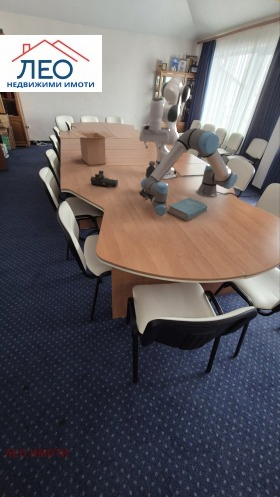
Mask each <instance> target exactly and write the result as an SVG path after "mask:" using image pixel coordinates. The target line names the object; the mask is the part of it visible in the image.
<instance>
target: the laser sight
mask: <svg viewBox="0 0 280 497" xmlns="http://www.w3.org/2000/svg"><path fill="white" fill-rule="evenodd" d="M89 181H90V184H91V185H94V186H101V187H112V188H113V187H114V188H117V187H118V186H119V179H114V178H109V177H105V175H104V170H98V174H97V173H95V174H94V176H90V180H89Z"/></svg>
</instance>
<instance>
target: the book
mask: <svg viewBox="0 0 280 497" xmlns="http://www.w3.org/2000/svg"><path fill="white" fill-rule="evenodd" d="M207 210H208V205H207V203H204V202H202V201H199V200H196V199H194V198H191V197H189V196H188V197H186V198H183V199H180V200H179V201H176V202H174V203H171V204H169V205H168V210H167V213H168V214H171V215H173V216H175V217H176V218H179V219H181V220H184V221H185V222H187V221H189V220H191V219H192V218H195V217H197V216H199V215H200V214H202V213H205V212H207Z"/></svg>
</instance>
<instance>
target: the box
mask: <svg viewBox="0 0 280 497" xmlns="http://www.w3.org/2000/svg"><path fill="white" fill-rule="evenodd" d="M70 133H71V134H72V135H74V136H75V137H77V138H79V144H80V153H81V160H83V162H85V163H86V165H87V166H95V165H97V166H98V165H106V163H107V162H106V158H107V157H106V138H113V137H114V136H113V135H111V134H109V133H108V132H105V131H98V132H96V131H95V130H92V129H91V130H77V132H76V131H70Z"/></svg>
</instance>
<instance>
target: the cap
mask: <svg viewBox="0 0 280 497" xmlns="http://www.w3.org/2000/svg"><path fill="white" fill-rule="evenodd" d="M155 164H156V161H154V160H150V161H149V163H148V166H150V165H151V166H154V167H155Z"/></svg>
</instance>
